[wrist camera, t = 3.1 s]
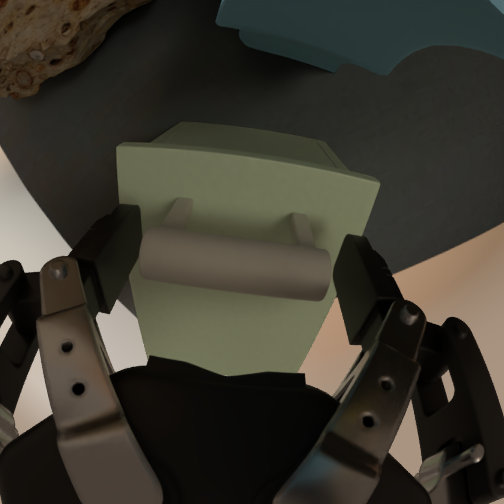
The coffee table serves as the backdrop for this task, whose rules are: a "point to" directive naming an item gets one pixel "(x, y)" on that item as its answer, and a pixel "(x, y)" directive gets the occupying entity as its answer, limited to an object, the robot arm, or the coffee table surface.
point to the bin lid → (236, 251)
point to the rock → (51, 38)
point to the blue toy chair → (363, 28)
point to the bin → (251, 142)
